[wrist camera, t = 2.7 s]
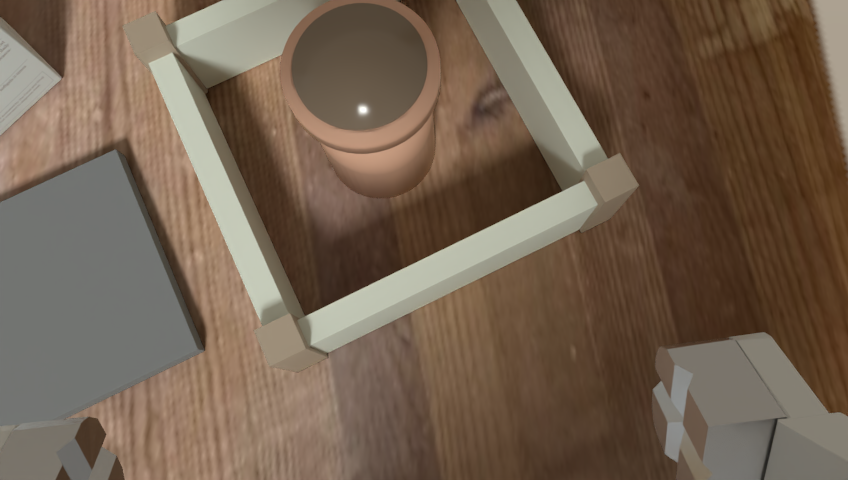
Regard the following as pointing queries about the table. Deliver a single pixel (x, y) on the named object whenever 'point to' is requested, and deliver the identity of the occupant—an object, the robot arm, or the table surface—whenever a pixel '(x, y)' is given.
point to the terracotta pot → (366, 91)
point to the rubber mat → (84, 294)
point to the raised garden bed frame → (426, 279)
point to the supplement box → (20, 76)
